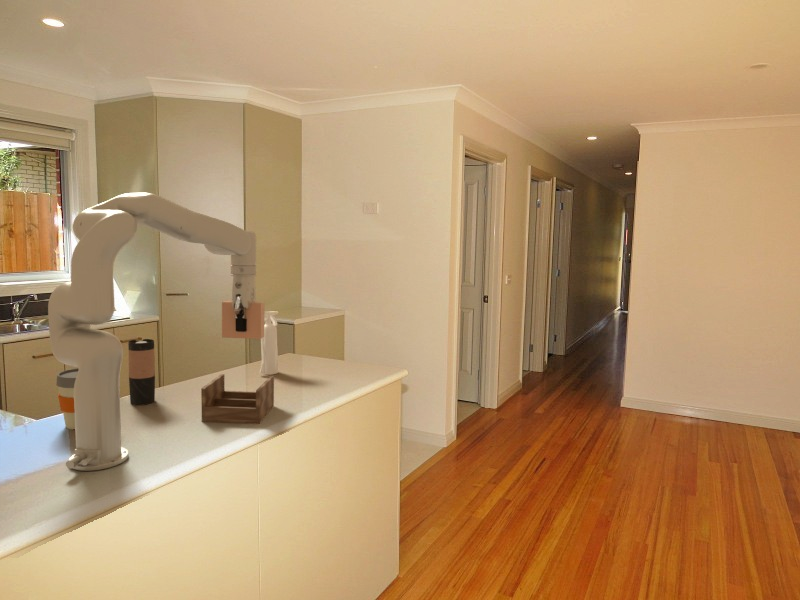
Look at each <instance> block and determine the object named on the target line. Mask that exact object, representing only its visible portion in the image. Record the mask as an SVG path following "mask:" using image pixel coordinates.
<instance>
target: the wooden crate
mask: <svg viewBox="0 0 800 600" xmlns="http://www.w3.org/2000/svg"><path fill="white" fill-rule="evenodd" d="M200 393H201V397H200V398H201V422H202V423H204V422H205V423H222V424H223V423H225V424H226V423H229V424H253V425H260V424H261V423H262V422H263V420H264V419H265V418H266V416H267V415H268V414H269V413H270V411H272V409H273V408H274V406H275V394H274V393H275V376H274V375H270V376H269V377H268V378H267V379H266V380H265V381H264V382H263V383H262V384H261V385H260V386H259V387H258V388H257V389H256V390H255V391H238V390H225V373H221V374H219V375H218V376H217V377H215V378H214V379H213V380H211V381H210V382H209V383H207V384H206V385H204V386H203V387H202V388H201V392H200Z"/></svg>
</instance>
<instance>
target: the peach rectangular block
mask: <svg viewBox="0 0 800 600" xmlns="http://www.w3.org/2000/svg"><path fill="white" fill-rule="evenodd" d="M235 304H236V302H235ZM240 308H244V307H243V306H240ZM234 309H235V308H233V306H232V300H224V301H222V302H221V338H222V339H223V338H224V339H225V338H226V339H227V338H229V339H250V340H251V339H257V340H261V338H263V337H264V325H265V322H264V319H265V316H264V313H265V301H256V302H252V303H251V308H249V309H246V316H245V319H247V330H246V332H238V331H236V318H235V315H236V314H235V311H234ZM240 311H242V312H243V310H240Z"/></svg>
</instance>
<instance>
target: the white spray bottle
mask: <svg viewBox="0 0 800 600" xmlns="http://www.w3.org/2000/svg"><path fill="white" fill-rule="evenodd" d="M276 315H279V311H276V310H275V311H272V310H271V311H264V317H265V318H264V337H263V338H261V339H260V347H261V348H260V351H261V352H260V353H261V354H260V355H261V365H260V370H259V374H263V375H265V376H266V375H270V376H272V375H276V374H278V373H279V359H278V358H279V356H278V355H279V353H278V330H277V329H278V328H277V326H278V325H279V324H278V321H277V318H276Z"/></svg>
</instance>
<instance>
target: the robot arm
mask: <svg viewBox="0 0 800 600" xmlns="http://www.w3.org/2000/svg"><path fill="white" fill-rule="evenodd" d="M138 227H145V228H149V229H151V230H154V231H157V232H159V233H161V234H164V235H166V236H169V237H172V238H174V239H176V240H178V241H179V240H180V241H182V242H188V243H193V244H201V245H204V247H205V249H206V251H208V252H209V253H211V254H213V255H219V256H230V276H231V277H232V290H231V291H232V292H231V301H232V306H233V308H235V309H234V311H235V314H236V315H235V318H236V331H238V332H246V330H247V319H245V316H246V309H249V308H251V303H252V302H257V291H256V289H257V287H256V278H255V277H257V234H256V233H255V232H254V231H251V230H245V229H243V228H241V227H239V226H237V225H234V224H233V223H230V222H228V221H225V220H221V219H218V218H215V217H211V216H208V215H206V214H203V213H199V212H196V211H194V210H191V209H189V208H186V207H184V206H182V205H180V204H178V203H176V202H174V201H171V200H169V199H167V198H165V197H162V196H161V195H158V194H155V193H153V192H152V193H151V192H129V193H128V192H127V193H123V194H119V195H117V196H115V197H113V198H110V199H108V200H106V201H104V202H101V203H98V204H96V205H93V206H91V207H88V208H87V209H85V210H82V211H81V212H79V213H78V214H77V215H76V216H75V218H74V220H73V223H72V231H73V233H74V236H75V237H76V239H78V242H77V244H76V245H75V247H74V249H73V252H72V256H71V259H70V281H67V282H66V281H65V282H63V283H61V284H59V285H58V286H57V287H55V288H54V289H53V291H52V292H51V294H50V297H49V299H48V305H47V308H48V309H47V310H48V311H47V315H48V329H49V343H50V349H51V352H52V354H53V357H54V358H55V359H56V361H58V362H60V363H61V364H64V365H66V366H70V367H74V368H79V371H78V375H77V377H76V380H75V384H74V409H75V431H74V432H75V433H74V434H75V449H74V454H72V455H71V456H70V457H69V458H68V460H67V461H66V462H65V466H66V468H67V469H71V470H72V469H73V470H75V471H84V472H85V471H86V472H89V471H99V470H105V469H110V468H113V467H116V466H117V465H120V464H122V463H124V462H125V461H126V460H127V459H128V458H129V450H128V449H126V447H122V430H121V429H122V428H121V427H122V425H121V420H122V419H121V394H120V393H121V391H120V388H121V387H120V384H121V383H120V382H121V381H120V379H121V378H120V377H121V368H122V363H123V357H124V347H123V343H122V341H120V339H119V338H118V336H116V335H115V334H113V333H111V332H109V331H106V330H101V329H96V328H91V325H95V326H97V325H103V324H106V323H107V322H109V321H110V320H111V319H112V318H113V316H114V313H115V289H114V288H115V287H114V286H115V285H114V266H115V265H114V264H115V260H116V258H117V255H119V253H120V252H121V250H122V249H123V248H124V247H125V246H127V245H128V244H129V243H130V242H132V241H133V240H134V238H135V236H136V234H137V231H138ZM235 302H236V304H235ZM240 306H243V307H244V308H240ZM240 310H243V312H242V311H240Z"/></svg>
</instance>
